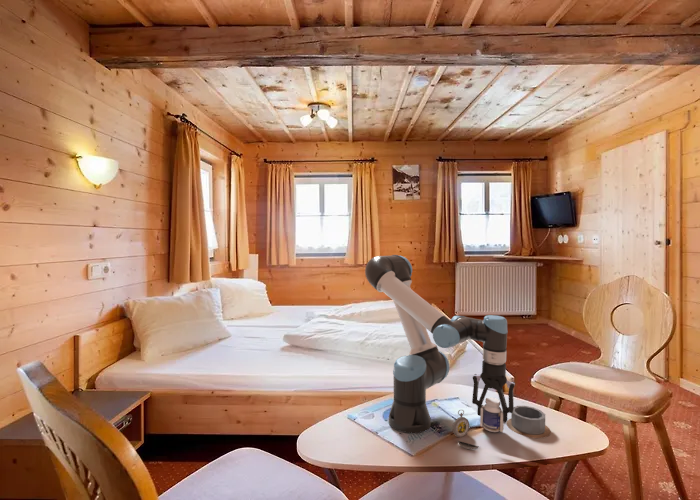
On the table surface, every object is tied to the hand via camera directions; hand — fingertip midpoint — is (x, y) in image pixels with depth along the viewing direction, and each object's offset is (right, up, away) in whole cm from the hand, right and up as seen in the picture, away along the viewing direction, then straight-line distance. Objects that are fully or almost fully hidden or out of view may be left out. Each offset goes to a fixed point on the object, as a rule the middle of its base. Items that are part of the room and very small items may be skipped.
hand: (491, 427), depth 125 cm
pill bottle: (0, -1, 0) cm, 1 cm away
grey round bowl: (+14, -1, +2) cm, 14 cm away
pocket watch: (-11, -3, -6) cm, 12 cm away
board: (+14, -2, +2) cm, 14 cm away
